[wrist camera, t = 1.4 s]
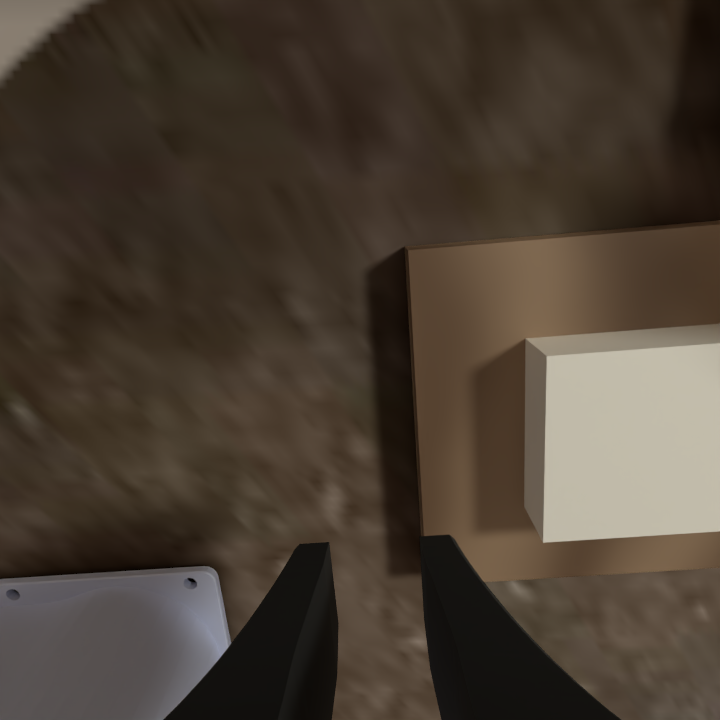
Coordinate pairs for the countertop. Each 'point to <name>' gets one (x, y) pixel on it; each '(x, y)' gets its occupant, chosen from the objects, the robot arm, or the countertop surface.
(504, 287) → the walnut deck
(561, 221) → the countertop surface
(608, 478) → the cream tile
